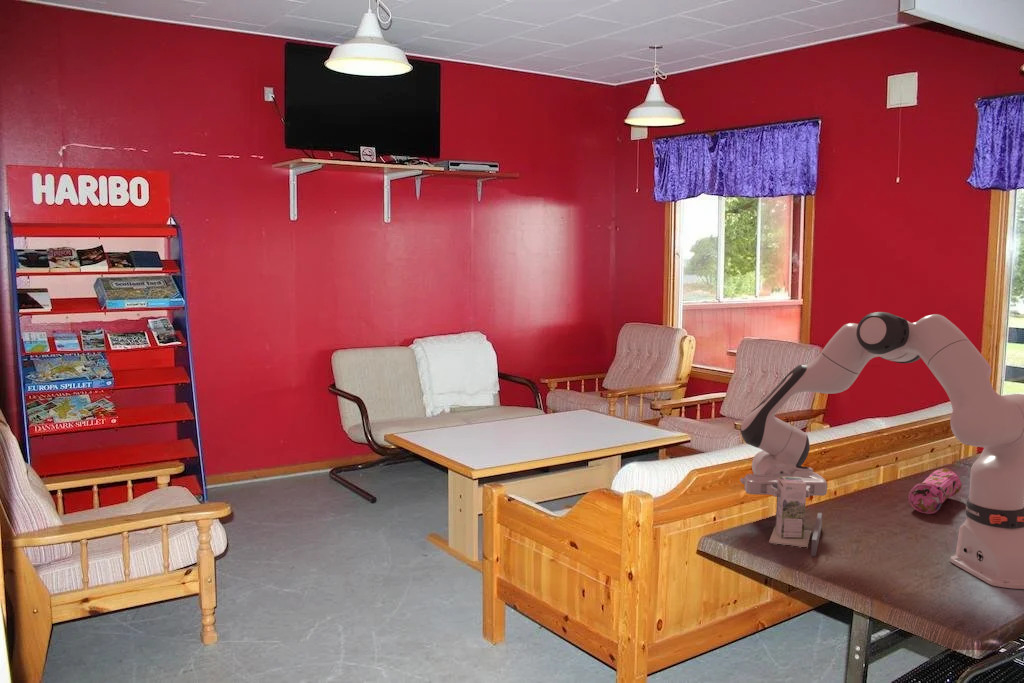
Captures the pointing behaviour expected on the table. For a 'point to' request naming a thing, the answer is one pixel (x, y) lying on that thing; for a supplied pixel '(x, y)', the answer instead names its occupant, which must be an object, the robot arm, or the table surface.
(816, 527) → the low wall
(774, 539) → the pad
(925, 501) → the pencil case
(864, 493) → the table surface
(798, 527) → the syrup box
